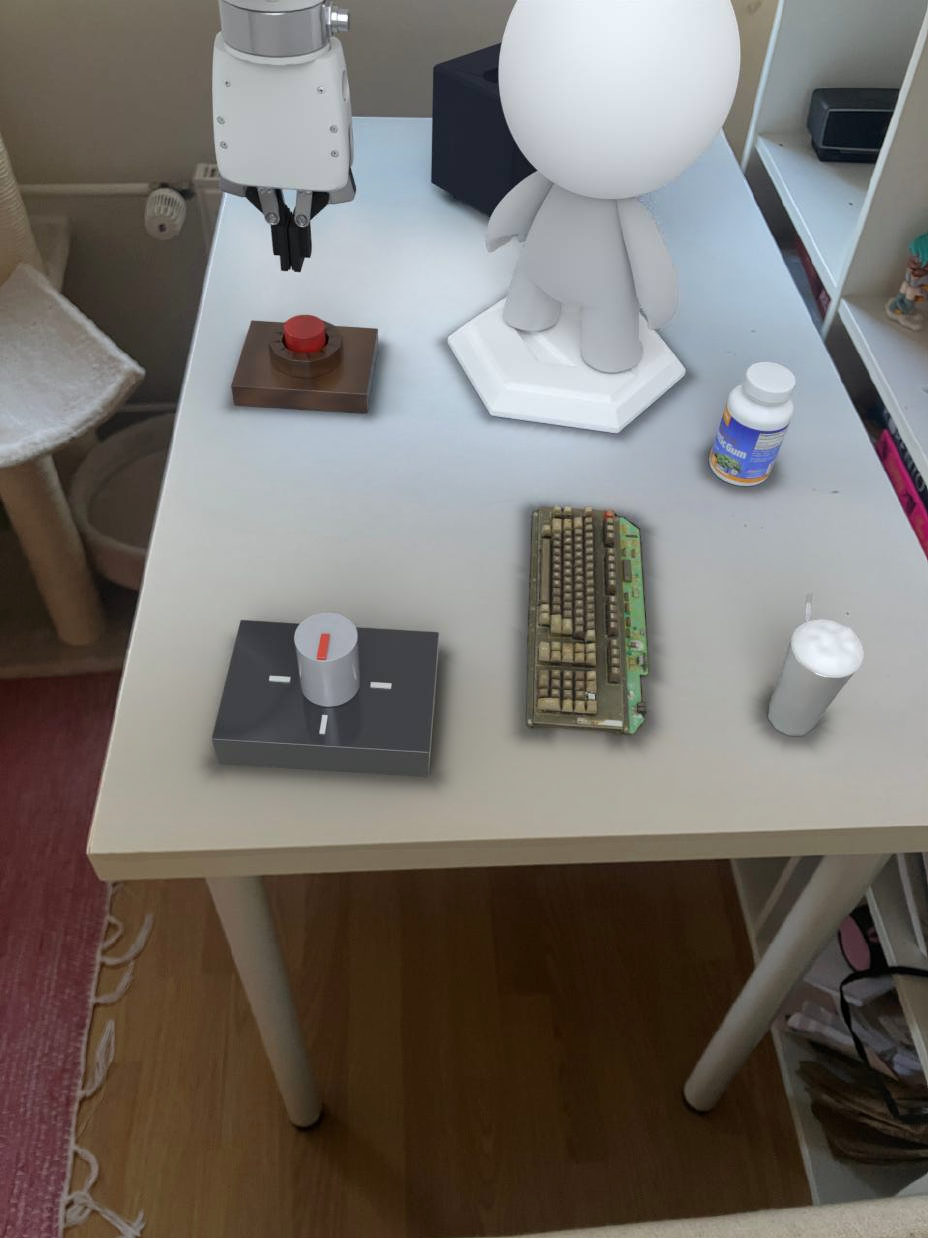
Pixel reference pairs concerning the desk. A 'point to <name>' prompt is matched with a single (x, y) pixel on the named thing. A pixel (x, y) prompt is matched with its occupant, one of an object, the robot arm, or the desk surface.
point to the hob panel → (329, 736)
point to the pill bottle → (753, 425)
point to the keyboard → (586, 621)
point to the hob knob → (328, 658)
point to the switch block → (306, 370)
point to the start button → (304, 334)
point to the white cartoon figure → (595, 202)
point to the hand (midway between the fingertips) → (293, 262)
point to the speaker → (473, 132)
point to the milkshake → (813, 673)
